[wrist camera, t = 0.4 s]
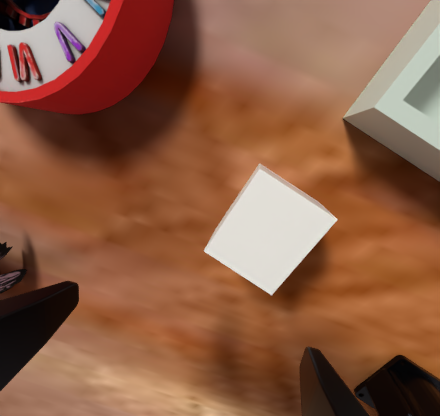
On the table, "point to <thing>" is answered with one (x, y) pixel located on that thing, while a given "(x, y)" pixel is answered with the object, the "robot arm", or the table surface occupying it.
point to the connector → (268, 230)
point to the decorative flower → (12, 278)
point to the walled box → (407, 96)
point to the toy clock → (78, 51)
